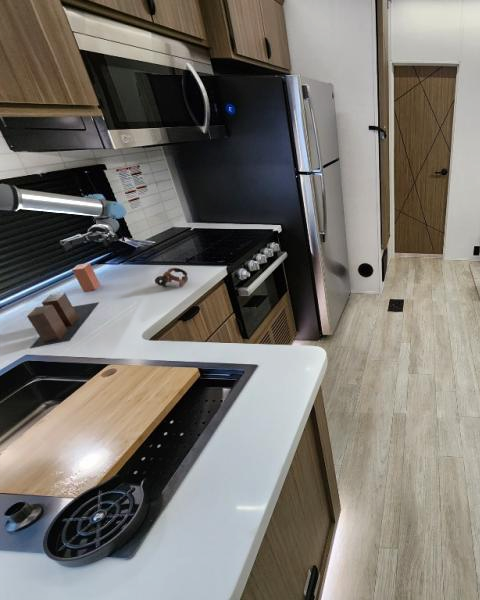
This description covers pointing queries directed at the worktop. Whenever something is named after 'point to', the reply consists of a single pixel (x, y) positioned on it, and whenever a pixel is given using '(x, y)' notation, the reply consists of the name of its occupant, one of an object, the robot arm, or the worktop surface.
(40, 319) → the dark brown cuboid
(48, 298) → the brown wooden block
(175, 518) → the worktop surface
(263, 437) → the worktop surface
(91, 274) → the terracotta toy brick
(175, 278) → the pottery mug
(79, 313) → the dark gray mat
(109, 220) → the robot arm
